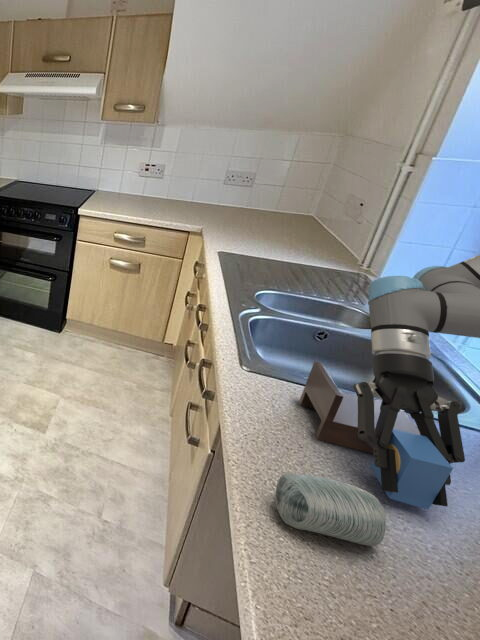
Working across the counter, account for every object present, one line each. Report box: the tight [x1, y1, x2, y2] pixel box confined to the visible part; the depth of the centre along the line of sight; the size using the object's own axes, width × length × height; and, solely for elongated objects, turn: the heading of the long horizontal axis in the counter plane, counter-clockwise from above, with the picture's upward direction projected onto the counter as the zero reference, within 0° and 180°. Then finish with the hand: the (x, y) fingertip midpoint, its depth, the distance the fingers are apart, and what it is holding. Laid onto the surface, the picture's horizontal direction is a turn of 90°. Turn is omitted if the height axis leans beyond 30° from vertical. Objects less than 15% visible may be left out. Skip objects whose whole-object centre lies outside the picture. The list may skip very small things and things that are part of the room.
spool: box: [275, 472, 387, 547], centre depth 64 cm, size 14×10×10 cm
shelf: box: [298, 361, 421, 455], centre depth 83 cm, size 16×12×11 cm
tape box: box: [369, 429, 454, 510], centre depth 69 cm, size 5×7×9 cm
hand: (413, 497), depth 67 cm, fingers closed on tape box, 5 cm apart
